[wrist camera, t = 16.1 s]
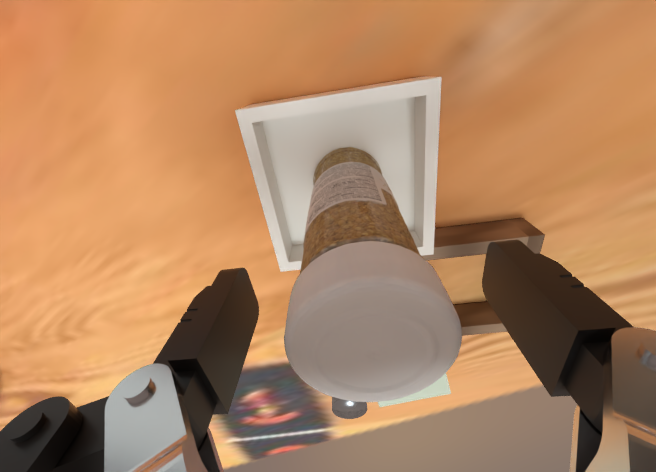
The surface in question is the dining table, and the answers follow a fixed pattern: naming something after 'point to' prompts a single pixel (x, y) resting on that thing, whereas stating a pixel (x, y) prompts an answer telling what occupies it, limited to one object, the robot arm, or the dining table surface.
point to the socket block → (475, 243)
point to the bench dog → (348, 408)
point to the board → (423, 392)
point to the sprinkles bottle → (365, 292)
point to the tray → (341, 132)
